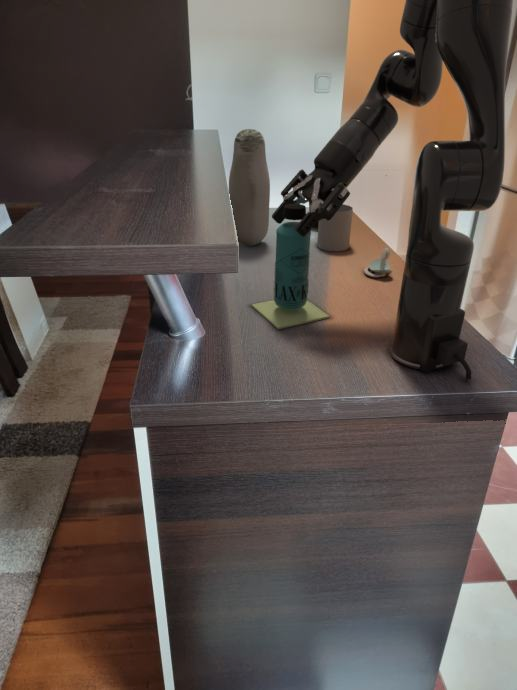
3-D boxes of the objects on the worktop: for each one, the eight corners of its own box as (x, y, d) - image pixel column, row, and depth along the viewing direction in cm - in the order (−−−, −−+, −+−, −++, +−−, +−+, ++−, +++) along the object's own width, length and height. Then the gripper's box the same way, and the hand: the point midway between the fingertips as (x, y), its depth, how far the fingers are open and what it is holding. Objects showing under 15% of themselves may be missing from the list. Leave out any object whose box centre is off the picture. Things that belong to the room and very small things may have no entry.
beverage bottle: (266, 308, 99) (267, 204, 90) (291, 299, 103) (295, 198, 93) (289, 320, 95) (293, 211, 85) (314, 310, 99) (321, 205, 89)
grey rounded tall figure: (224, 240, 137) (222, 127, 124) (259, 236, 141) (260, 126, 127) (238, 251, 130) (236, 132, 116) (274, 247, 133) (277, 130, 119)
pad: (329, 317, 97) (329, 315, 97) (278, 329, 93) (278, 327, 92) (299, 296, 105) (299, 294, 105) (251, 306, 101) (251, 304, 101)
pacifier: (365, 280, 114) (393, 280, 114) (368, 253, 111) (396, 252, 111) (362, 268, 120) (388, 268, 120) (364, 242, 117) (390, 242, 117)
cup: (348, 252, 130) (352, 212, 125) (316, 250, 131) (318, 211, 126) (348, 242, 137) (352, 204, 132) (318, 240, 138) (320, 202, 133)
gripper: (312, 133, 92) (255, 204, 93) (360, 144, 81) (294, 224, 82) (335, 162, 97) (280, 229, 98) (382, 175, 86) (320, 251, 87)
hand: (286, 226), depth 90 cm, fingers open, 8 cm apart
